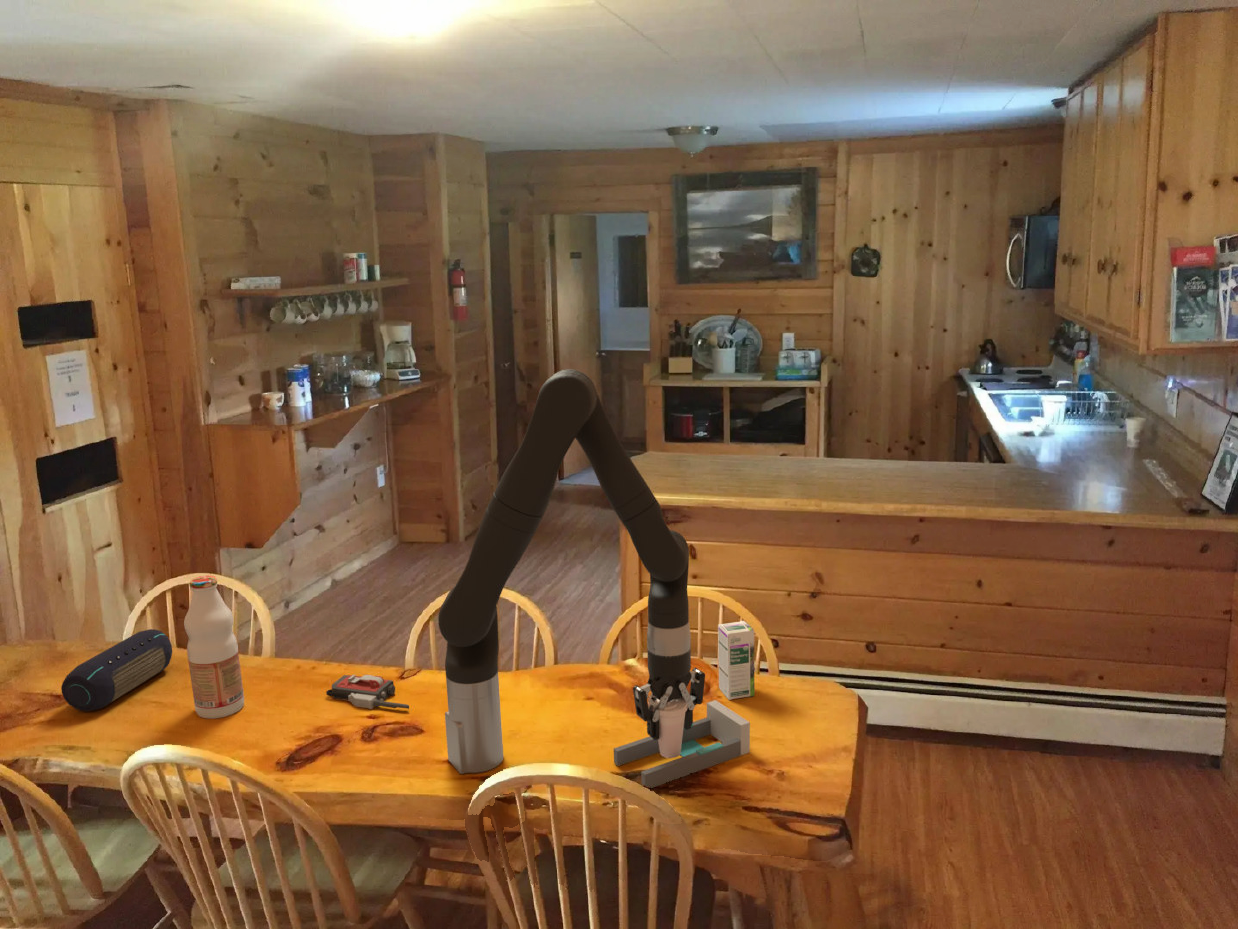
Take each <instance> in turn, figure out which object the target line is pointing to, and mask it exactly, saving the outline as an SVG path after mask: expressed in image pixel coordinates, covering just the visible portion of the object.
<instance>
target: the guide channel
mask: <svg viewBox="0 0 1238 929" xmlns="http://www.w3.org/2000/svg"><path fill="white" fill-rule="evenodd" d="M750 723H751V722H750V721H748V720H747V719H745V718H744V717H742V716H741V715H739V714H738V713H736V712H735V711H733V710H731V709H730V708H729V707H727V706H725V705H723V704H722V703H720V702H719V700H716V699H715V700H711V701H709V702H706V717H704V718H701V719H698V720H695V721H694V720H693V723H692V725H691V729H688V730H686V729H685V728H683V737H682V745H681V753H680V755H679V756H681V757H677V758H676V759H672V760H670V761H668V762H664V763H661V764H658V765H656V766H653V767H650V768H647V769H645V770H641V771H640V775H641V778H640V779H641V780H640V782H641V784H642V785H645V786H646V787H649V788H650V787H651V789H653V788H656V787H659V786H661V785H664V784H666V782H667V783H669V781H670V782H672V780H673V781H675V780H678V779H681V778H683V777H686V776H688V775H691V774H690V773H692V774H694V773H697V772H699V771H702V770H705V769H707V768H708V769H709V768H711V767H713V766H716V765H718V764H722V763H725V762H727V761H730V760H732V759H735V758H739V757H740V756H744V755H746V754H749V753H751V752H750V751H751V750H750V748H751V746H750V745H751V744H750V743H751V742H750V739H751V736H750V735H751V734H750V730H751V728H750V727H751V726H750V725H751V724H750ZM710 735H711V736H712V737H714V738H715V739H716V740H718V742H715V743H713V744H710V745H708V746H703V745H702V744H700V743H699V742H697V740H698V739H701V738H704V737H707V736H710ZM719 741H720V742H721V743H720V742H719ZM658 753H660V750H659V743H658V740H654V739H653V738H651V737H650V736H646V737H644V738H641V739H637V740H634V741H632V742H628V743H627V744H623V745H620V746H617V747H613V763H615V764H616V765H617V766H618V767H620V766H619V765H621V766H622V764H623V765H626V764H628V763H627V762H629V763H631V762H630V761H632V762H634V761H633V760H635V761H637V759H638V760H640V758H641V759H644V758H646V756H647V757H650V756H652V755H655V754H658ZM649 755H650V756H649ZM643 757H644V758H643ZM625 763H626V764H625ZM615 764H614V765H615ZM616 765H615V766H616ZM617 766H616V767H617ZM680 777H681V778H680ZM674 779H675V780H674ZM642 785H641V786H642Z"/></svg>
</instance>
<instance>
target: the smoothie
mask: <svg viewBox="0 0 1238 929" xmlns="http://www.w3.org/2000/svg"><path fill="white" fill-rule="evenodd" d="M659 701H660V700H659V699H657V702H659ZM652 708H653V710H652V711H653V712H654V709H655V707H654V706H653V707H652ZM686 711H687V703H686V702H684V701H683V700H682V699H676V700H671V701H670V702H667V703H666V705H665V708H664V710H660V714H659V715H660V716H659V718H658V721H659V739H658V743H659V750H660V752H659V754H660V755H661V756H662V757H663V758H666V759H674V758H678V757H679V756H681V755H680V753H681V745H682V737H683V728H684V719H685V712H686Z"/></svg>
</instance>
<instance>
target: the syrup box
mask: <svg viewBox="0 0 1238 929" xmlns="http://www.w3.org/2000/svg"><path fill="white" fill-rule="evenodd" d="M717 638H718V639H717V640H718V641H717V642H718V643H717V645H718V646H717V648H718V650H717V651H718V688H719V690H720V691H721V693H722V694H723V695H724V696H725V698H727V700H729V701H731V700H734V699H742V698H749V697H755V630H754V629H753V628H752V626H751V625H750V624H749V623H748V622H746V621H745V620H740V621H735V622H728V623H719V624H717Z"/></svg>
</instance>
